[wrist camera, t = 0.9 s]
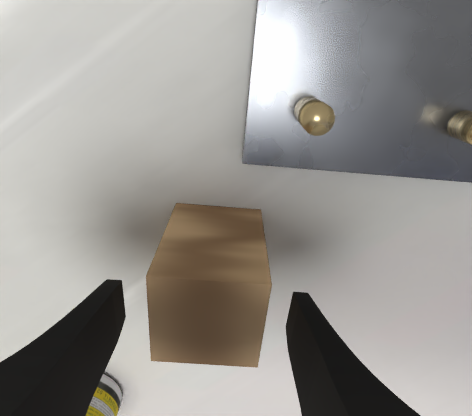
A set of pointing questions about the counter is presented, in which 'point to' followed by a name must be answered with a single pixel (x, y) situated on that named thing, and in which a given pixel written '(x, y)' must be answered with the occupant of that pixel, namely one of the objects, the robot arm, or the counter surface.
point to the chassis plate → (362, 87)
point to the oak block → (209, 287)
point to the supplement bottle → (105, 398)
